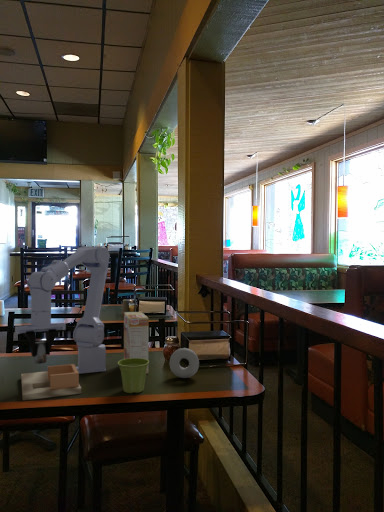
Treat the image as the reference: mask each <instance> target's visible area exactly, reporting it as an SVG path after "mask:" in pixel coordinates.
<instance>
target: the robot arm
mask: <svg viewBox="0 0 384 512" xmlns="http://www.w3.org/2000/svg"><path fill="white" fill-rule="evenodd" d="M110 256H111V254H110V251H108V249H107V247H106V246H105V245H100V246H99V245H97V246H96V245H95V246H94V245H93V246H92V245H90V246H87V245H82V246H80V247H78V248H76V250H75V252H74V253H72V254H71V255H69V256H68V257H66V258H65V259H64V260H61V259H59V260H57V259H54V260H52V262H51V264H49V265H48V266H44V267H42V268H41V270H40V271H34V272H31V274H30V275H29V276H28V279H27V281H26V285H27V287H28V289H29V294H30V297H31V300H30V301H31V303H30V305H31V306H30V310H31V311H30V324H26V325H20V326H14V333H15V334H16V335H20V334H24V336H25V338H26V340H27V342H28V345H29V349H30V353H31V357H33V358H34V357H35V355H36V351H35V342H37V341H36V340H37V335H36V333H37V332H38V333H40V332H45V342H47V356H49V355H51V351H52V346H53V345H54V344H53V343H54V342H55V340H56V337H57V335H58V331H61V330H62V331H66V329H67V328H66V326H67V324H66V323H65V322H57V323H56V322H55V323H54V322H52V290H54V288H55V287H56V284H57V283H58V282H59V281H61V280H62V279H63V278H64V279H65V277H67V276H68V275H69V272H70V270H71V269H73V268H75V267H76V266H78V265H80V264H82V266H83V267H85V268H86V270H89V272H90V280H89V285H88V291H87V295H86V301H85V306H84V312H83V316H82V317H81V318H80V319H78V320H77V322H76V326H75V328H74V329H73V334H72V337H73V340H74V342H76V345H77V366H75V367H76V369H77V370H78V372H79V375H80V374H89V373H90V374H91V373H99V372H106V371H107V369H106V368H107V367H106V365H107V364H106V363H107V355H106V354H107V353H106V352H107V351H106V350H107V349H106V345H105V344H103V342H104V339H105V331H104V330H105V324H104V323H103V321H102V320H101V319H100V314H101V308H102V302H103V299H104V298H103V297H104V291H105V285H106V281H107V276H108V275H107V273H108V269H109V263H110Z"/></svg>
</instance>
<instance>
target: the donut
mask: <svg viewBox="0 0 384 512" xmlns="http://www.w3.org/2000/svg"><path fill="white" fill-rule="evenodd" d="M182 359H186V360H187V361H188V366H187V367H183V366H181V364H180V361H181V360H182ZM199 366H200V361H199V357H198V355H197V354H196V353H195V351H194V350H192V349H190V348H187V347H183V348H178V349H176V350H175V351H173V353H171V355H170V358H169V369H170V370H171V373H173V375H175V376H176V377H178V378H180V379H187V378H188V379H189V378H191V377H193V376H194V375H195V374H196V373H197V372H198V370H199Z"/></svg>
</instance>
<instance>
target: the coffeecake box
mask: <svg viewBox="0 0 384 512" xmlns="http://www.w3.org/2000/svg"><path fill="white" fill-rule="evenodd" d="M149 323H150V322H149V317H148V316H147V315H145V313H143V312H142V311H124V312H123V359H129V358H143V359H147V360H149V329H150V327H149ZM147 374H149V365H148V366H147V369H146V375H147Z"/></svg>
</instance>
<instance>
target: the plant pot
mask: <svg viewBox="0 0 384 512" xmlns="http://www.w3.org/2000/svg"><path fill="white" fill-rule="evenodd" d="M149 363H150V360H149V359H148V360H147V359H143V358H129V359H124V358H122V359H120V360H118V361H117V365H118V366H119V367H118V368H119V370H120V375H121V381H122V382H121V383H122V389H123V390H122V391H123V392H125V393H127V394H133V393H136V394H138V393H141V392H143V391H144V390H145V382H146V375H147V374H146V369H147V366H148V367H149Z"/></svg>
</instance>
